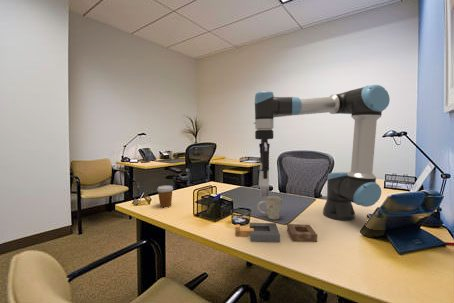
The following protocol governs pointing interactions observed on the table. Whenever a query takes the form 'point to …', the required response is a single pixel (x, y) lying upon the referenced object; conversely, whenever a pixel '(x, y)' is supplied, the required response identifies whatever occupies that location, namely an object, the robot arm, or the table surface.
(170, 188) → the disposable coffee cup
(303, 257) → the table surface
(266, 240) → the socket block
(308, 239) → the block
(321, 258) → the table surface
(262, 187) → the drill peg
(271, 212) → the mug
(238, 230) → the wooden block
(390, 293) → the table surface
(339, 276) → the table surface
